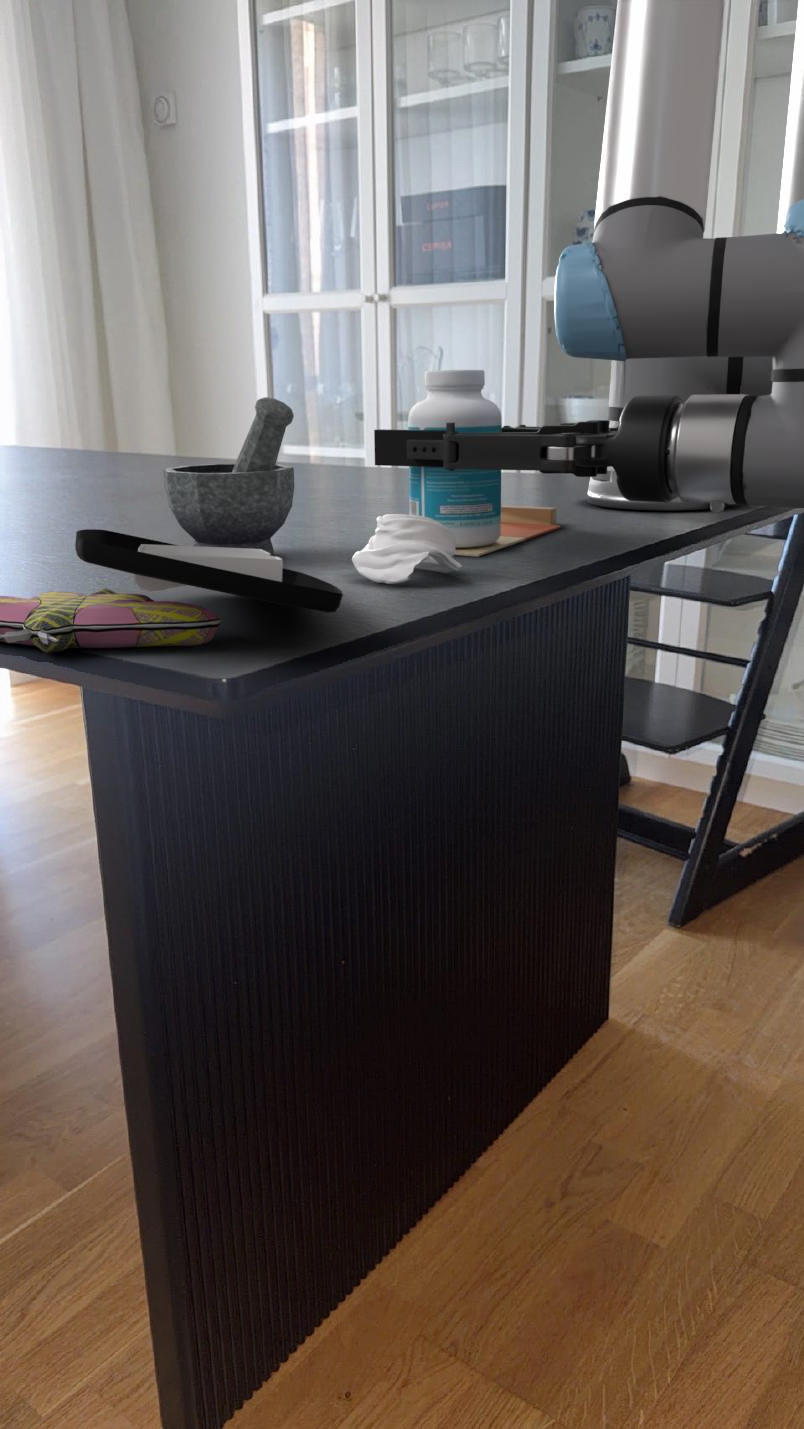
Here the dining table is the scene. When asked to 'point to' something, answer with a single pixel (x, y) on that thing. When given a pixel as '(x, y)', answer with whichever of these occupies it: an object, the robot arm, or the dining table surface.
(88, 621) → the patterned fabric pouch
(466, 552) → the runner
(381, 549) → the white folded cloth ring
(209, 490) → the mortar and pestle
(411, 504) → the pill bottle
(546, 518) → the stop bar
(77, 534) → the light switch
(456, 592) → the dining table surface
